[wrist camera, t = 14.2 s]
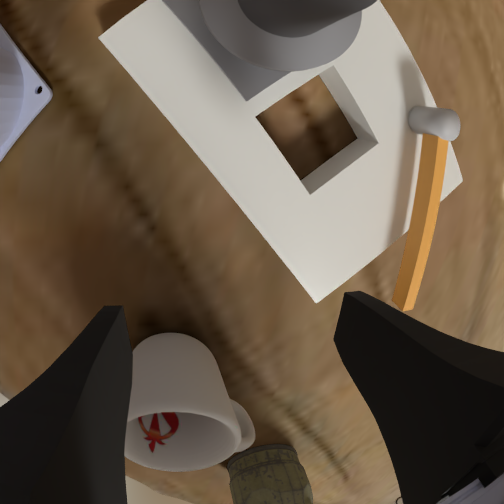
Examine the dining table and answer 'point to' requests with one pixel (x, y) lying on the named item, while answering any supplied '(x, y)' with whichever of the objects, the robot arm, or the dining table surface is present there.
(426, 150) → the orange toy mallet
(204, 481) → the dining table surface
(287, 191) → the socket board
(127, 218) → the dining table surface
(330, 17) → the plug
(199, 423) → the cup
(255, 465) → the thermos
